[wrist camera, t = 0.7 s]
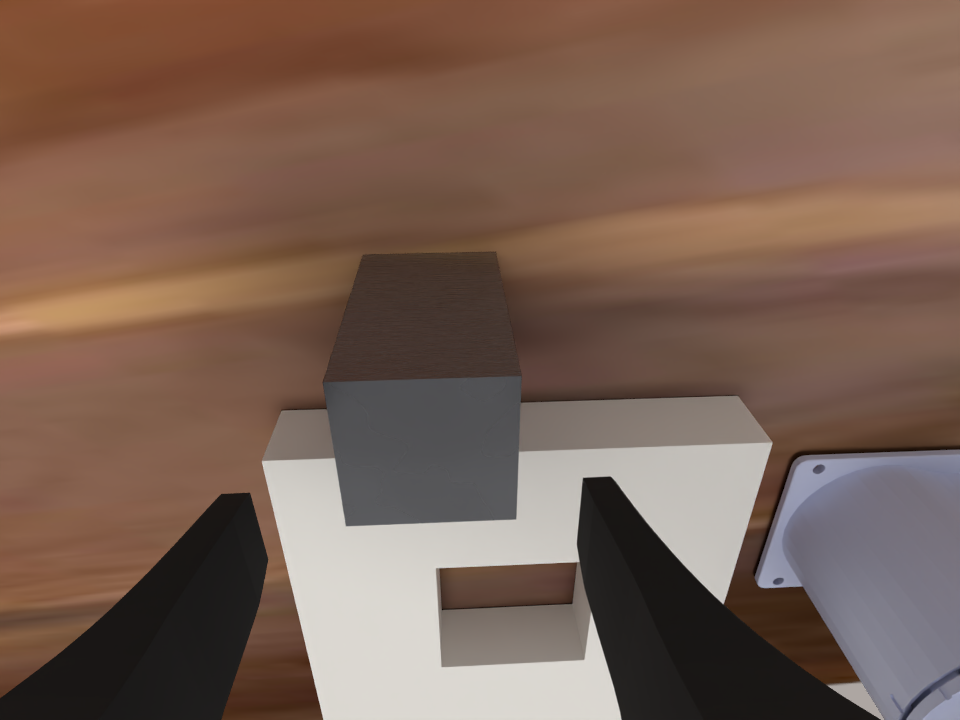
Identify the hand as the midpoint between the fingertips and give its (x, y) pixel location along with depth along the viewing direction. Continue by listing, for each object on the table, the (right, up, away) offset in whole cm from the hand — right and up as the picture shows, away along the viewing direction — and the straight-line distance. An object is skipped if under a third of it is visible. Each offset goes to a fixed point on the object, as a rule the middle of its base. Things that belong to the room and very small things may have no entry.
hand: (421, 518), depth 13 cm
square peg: (0, +5, +9) cm, 10 cm away
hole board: (+3, -6, +15) cm, 17 cm away
